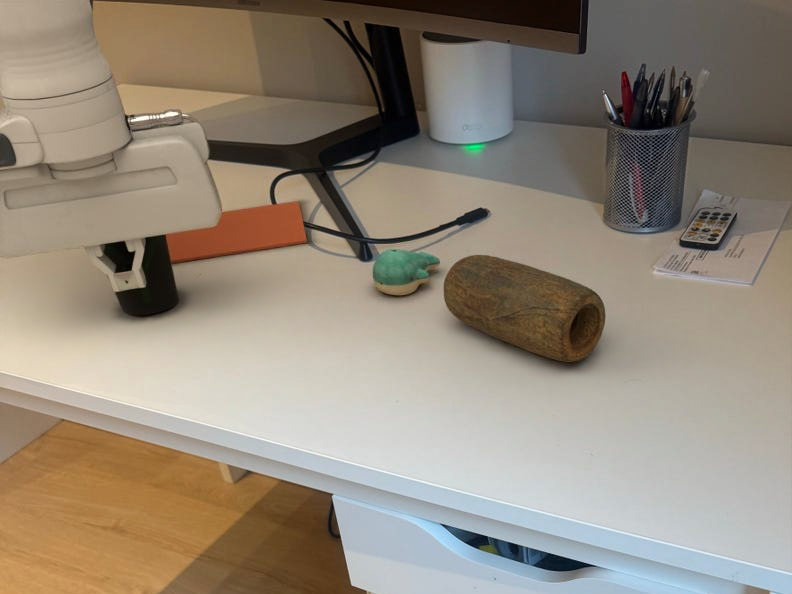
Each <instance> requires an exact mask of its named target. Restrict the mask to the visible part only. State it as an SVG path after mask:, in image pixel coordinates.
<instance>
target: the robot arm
mask: <svg viewBox="0 0 792 594" xmlns="http://www.w3.org/2000/svg"><path fill="white" fill-rule="evenodd" d="M93 11H94V0H0V97H1V100H2V101H3V104H4V107H2V108H1V109H0V258H2V259H4V260H10V259H15V258H22V257H29V256H35V255H42V254H49V253H54V252H60V251H68V250H74V249H80V248H83V250H84V252H85V254H86V257H87V259H88V261H90V262H91V263H92V264H93V265H94V266H95V267H97V268H98V269H99V270H100V271H101V272H102V273H103V274H105V275H106V276H107V275H108V277H109V279H108V281H109V280H110V281H109V283H110V285H111V288H112V290H113V292H114V293H115V292H120V291H124V290H131V289H138V288H144V287H146V278H145V275H144V272H143V269H142V266H141V263H142V259H143V254H144V249H145V243H146V240H145V237H151V236H158V235H164V234H171V233H177V232H184V231H190V230H196V229H203V228H209V227H214V226H216V225H217V223H218V221H219V220H220V217H221V215H222V212H223V204H222V200H221V196H220V193H219V189H218V187H217V185H216V182H215V178H214V176H213V174H212V171H211V169H210V166H209V163H208V161H209V159H210V155H211V150H210V149H211V148H210V144H209V140H208V137H207V134H206V133H207V132H206V130H205V128H204V126H203V124H202V123H201V122H200V121H199V119H197V118H196V117H194V116H193V115H192V114H189V113H185V112H182V110H181V109H180V108H179V109H177V108H173V109H172V108H171V109H165V110H164V111H160V112H144V113H143V112H142V113H136V114H135V113H134V114H129V115H128V114H127V113H126V111H125V108H124V104H123V101H122V98H121V95H120V92H119V89H118V85H117V83H116V79H115V77H114V74H113V71H112V68H111V66H110V63H109V61H108V60H107V59H106V57H105V55H104V54H103V52H102V50H101V47H100V45H99V43H98V39H97V37H96V33H95V25H94V13H93ZM184 120H188V121H184ZM119 241H125V243H126V245H127V248H128V251H130V252H133V251H135V255H134V260H133V263H132V264H127V265H120V266H116V265H115V264H114V263H113V262H112V261H111V260H110V259H109V258H108V257H107V256H106V255H105V254H104V253H103V252H104V248H105V244H106V243H113V242H119ZM108 277H107V278H108Z"/></svg>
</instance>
